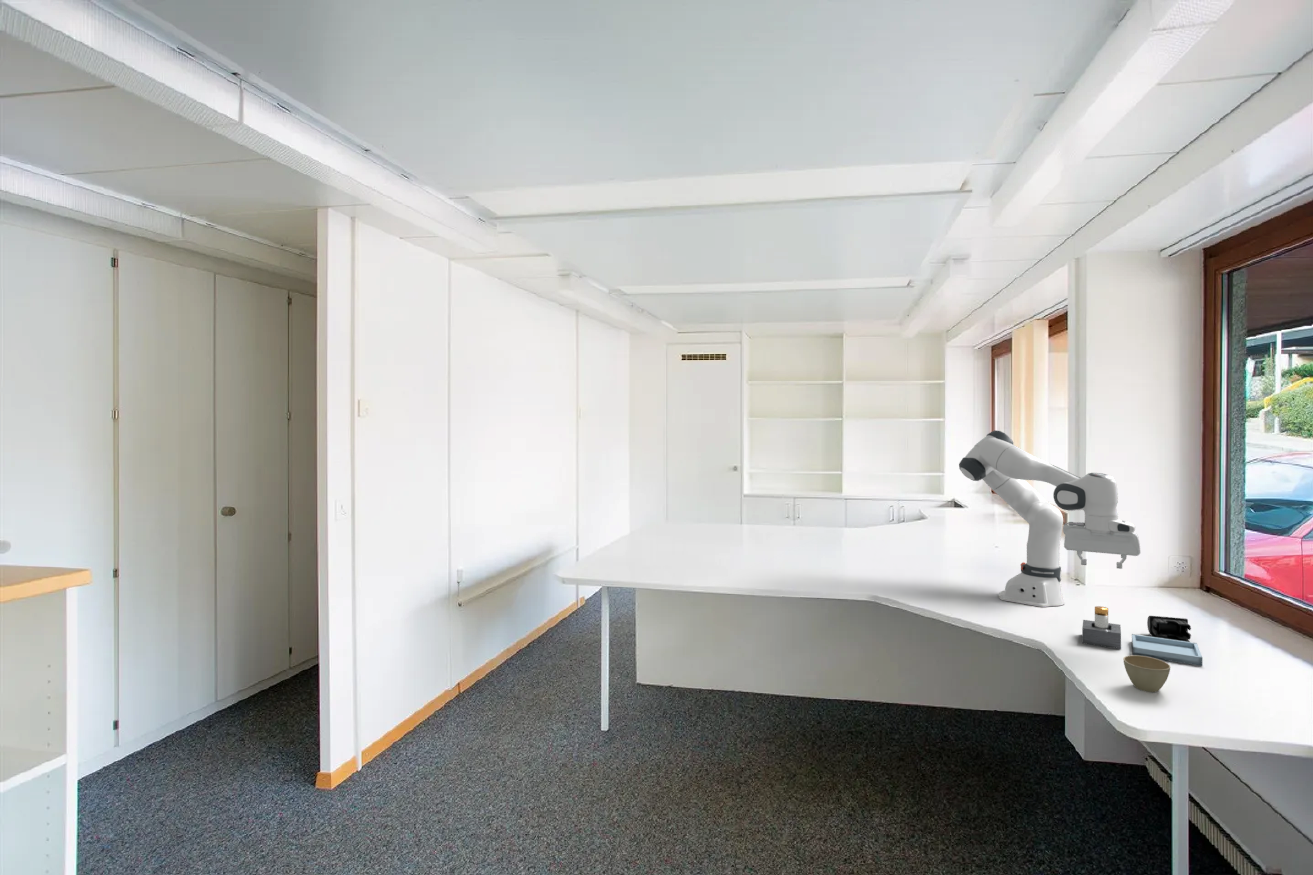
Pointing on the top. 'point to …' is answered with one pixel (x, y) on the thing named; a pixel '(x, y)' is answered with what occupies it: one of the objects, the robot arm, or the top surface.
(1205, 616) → the top surface
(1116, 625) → the socket block
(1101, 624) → the gold and grey cylinder
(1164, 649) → the tray
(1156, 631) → the end cap
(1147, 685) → the olive bowl
